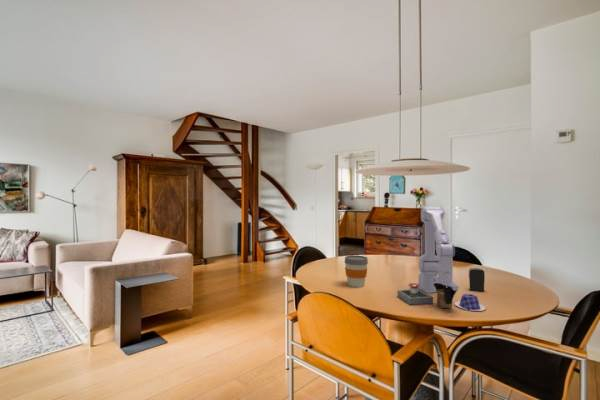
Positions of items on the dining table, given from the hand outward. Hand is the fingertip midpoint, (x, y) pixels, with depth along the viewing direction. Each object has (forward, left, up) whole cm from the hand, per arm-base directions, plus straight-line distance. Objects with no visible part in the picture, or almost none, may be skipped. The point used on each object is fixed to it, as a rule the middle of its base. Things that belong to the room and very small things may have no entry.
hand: (444, 301), depth 132 cm
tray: (-11, -8, -2) cm, 14 cm away
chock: (0, 0, -2) cm, 2 cm away
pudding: (+1, +12, -3) cm, 12 cm away
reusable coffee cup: (-39, -26, -3) cm, 47 cm away
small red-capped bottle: (-11, -8, -2) cm, 14 cm away
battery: (-19, +32, -3) cm, 37 cm away
